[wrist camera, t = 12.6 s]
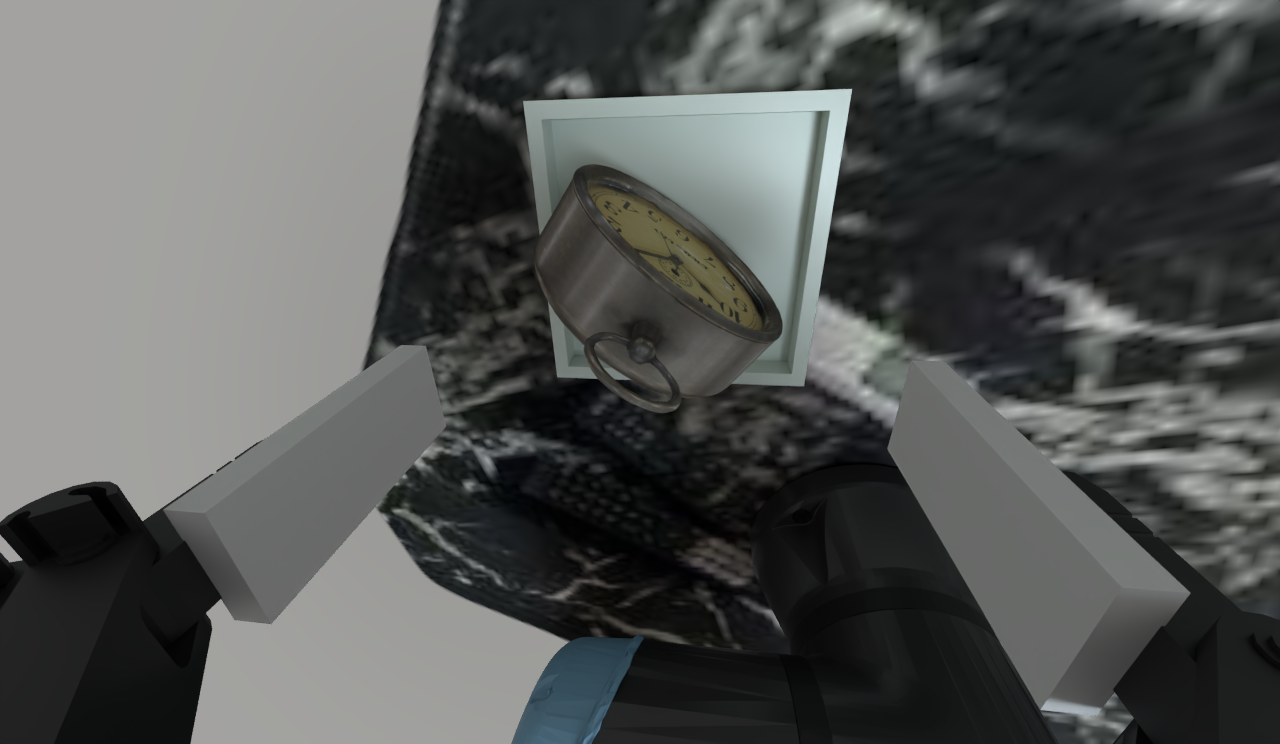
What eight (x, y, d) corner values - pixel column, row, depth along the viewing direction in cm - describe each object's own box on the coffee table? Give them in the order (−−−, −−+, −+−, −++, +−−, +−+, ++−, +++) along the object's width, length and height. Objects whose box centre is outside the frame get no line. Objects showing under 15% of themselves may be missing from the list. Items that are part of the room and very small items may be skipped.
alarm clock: (770, 273, 26) (848, 444, 12) (709, 340, 29) (715, 549, 15) (614, 148, 24) (489, 178, 10) (562, 232, 27) (402, 351, 12)
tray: (796, 367, 30) (803, 386, 28) (567, 360, 32) (557, 377, 29) (837, 92, 23) (852, 88, 20) (539, 103, 24) (523, 101, 22)
